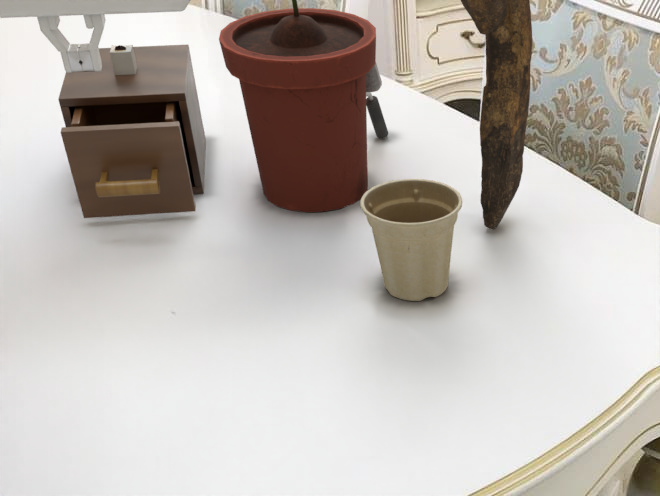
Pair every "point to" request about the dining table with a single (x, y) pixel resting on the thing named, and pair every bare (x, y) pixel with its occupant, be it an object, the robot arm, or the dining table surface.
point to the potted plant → (307, 102)
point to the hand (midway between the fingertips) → (84, 69)
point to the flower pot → (413, 234)
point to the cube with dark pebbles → (123, 60)
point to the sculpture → (503, 99)
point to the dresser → (145, 93)
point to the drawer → (129, 159)
